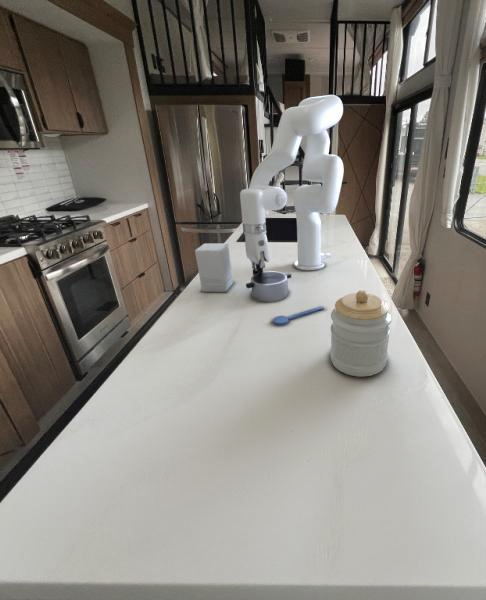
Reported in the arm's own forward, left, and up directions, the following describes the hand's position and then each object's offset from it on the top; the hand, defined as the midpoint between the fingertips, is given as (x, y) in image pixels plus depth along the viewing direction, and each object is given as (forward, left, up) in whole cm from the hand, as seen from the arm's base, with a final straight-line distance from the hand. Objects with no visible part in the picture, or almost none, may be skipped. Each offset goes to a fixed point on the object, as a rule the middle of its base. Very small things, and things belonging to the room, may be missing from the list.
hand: (258, 279), depth 115 cm
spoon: (0, +27, -3) cm, 27 cm away
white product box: (+12, -8, -3) cm, 15 cm away
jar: (-1, +53, -3) cm, 53 cm away
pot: (0, +8, -3) cm, 9 cm away
